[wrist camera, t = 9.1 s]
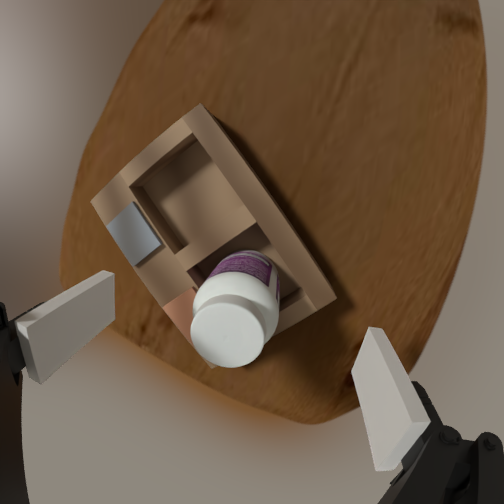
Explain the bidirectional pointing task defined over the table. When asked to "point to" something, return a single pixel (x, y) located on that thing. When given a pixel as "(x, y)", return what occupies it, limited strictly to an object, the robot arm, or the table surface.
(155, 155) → the socket block
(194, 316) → the pill bottle
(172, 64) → the table surface
